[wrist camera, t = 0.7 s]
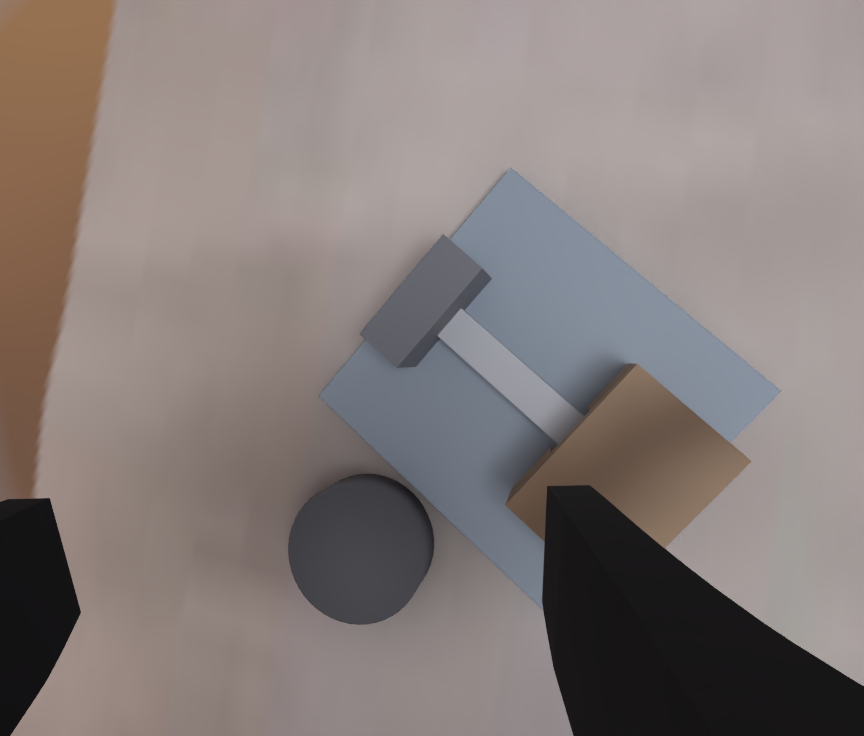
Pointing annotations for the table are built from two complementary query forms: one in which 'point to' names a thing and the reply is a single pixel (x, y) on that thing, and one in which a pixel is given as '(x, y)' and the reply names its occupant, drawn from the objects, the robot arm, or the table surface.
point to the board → (520, 363)
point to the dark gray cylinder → (361, 548)
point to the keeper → (635, 459)
